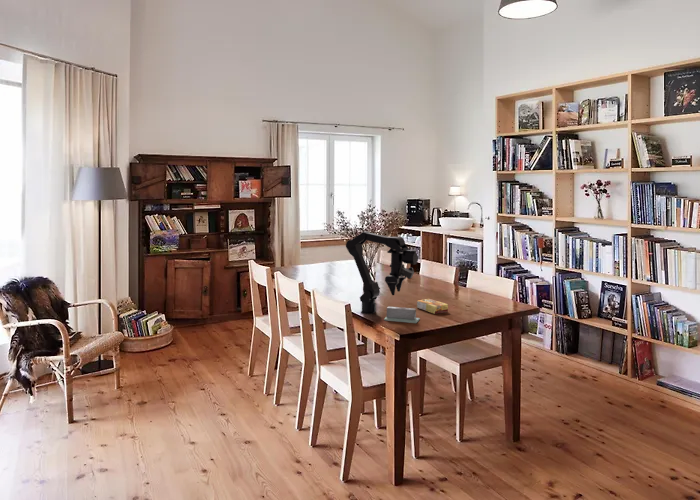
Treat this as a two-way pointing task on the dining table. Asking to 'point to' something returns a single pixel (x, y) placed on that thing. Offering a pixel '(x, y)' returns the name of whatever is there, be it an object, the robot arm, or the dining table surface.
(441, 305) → the candy box
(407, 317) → the bar
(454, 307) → the dining table surface
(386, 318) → the pad
